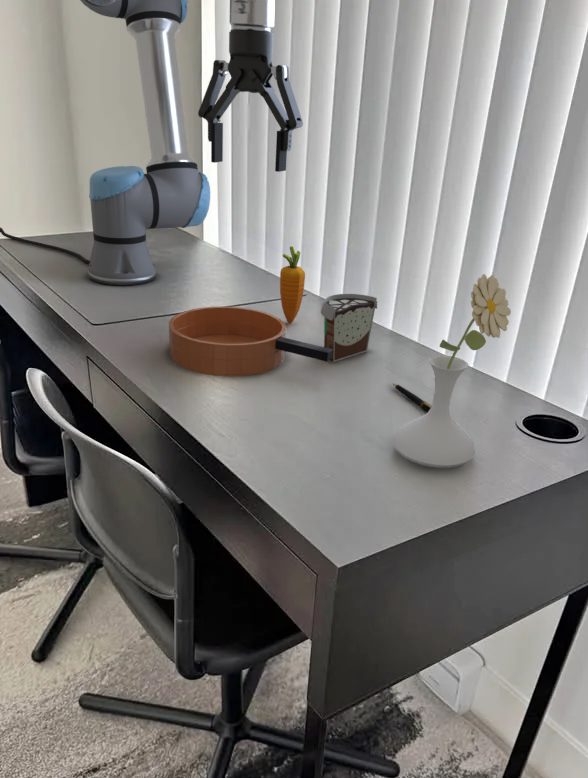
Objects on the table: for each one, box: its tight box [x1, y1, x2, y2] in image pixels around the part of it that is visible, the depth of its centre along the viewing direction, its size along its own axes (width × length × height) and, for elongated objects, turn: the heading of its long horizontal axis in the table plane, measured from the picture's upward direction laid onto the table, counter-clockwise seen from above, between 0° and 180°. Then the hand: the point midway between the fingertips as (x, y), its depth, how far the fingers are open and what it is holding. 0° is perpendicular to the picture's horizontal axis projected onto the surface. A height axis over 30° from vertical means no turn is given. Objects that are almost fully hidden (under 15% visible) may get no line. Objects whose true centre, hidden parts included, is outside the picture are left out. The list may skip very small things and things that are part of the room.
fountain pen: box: [392, 382, 432, 413], centre depth 112 cm, size 14×1×2 cm, turn 26°
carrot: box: [279, 246, 306, 324], centre depth 139 cm, size 5×5×15 cm
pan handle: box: [275, 337, 333, 362], centre depth 118 cm, size 10×2×2 cm, turn 62°
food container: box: [320, 293, 378, 363], centre depth 128 cm, size 12×6×10 cm, turn 135°
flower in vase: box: [391, 273, 512, 469], centre depth 92 cm, size 13×11×25 cm
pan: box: [168, 306, 287, 377], centre depth 125 cm, size 20×20×6 cm
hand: (248, 166), depth 129 cm, fingers open, 13 cm apart
